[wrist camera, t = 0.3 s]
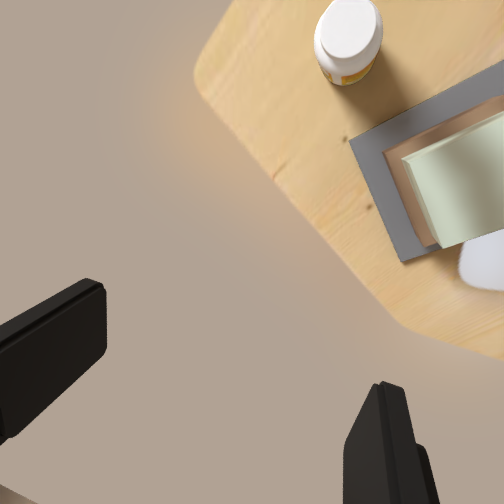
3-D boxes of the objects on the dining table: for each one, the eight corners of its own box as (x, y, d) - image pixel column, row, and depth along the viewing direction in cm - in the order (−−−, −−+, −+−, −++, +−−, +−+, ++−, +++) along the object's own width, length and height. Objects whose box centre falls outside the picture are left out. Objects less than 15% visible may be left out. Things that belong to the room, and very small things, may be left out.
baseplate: (511, 55, 27) (516, 53, 26) (556, 205, 30) (562, 207, 29) (348, 140, 33) (348, 141, 32) (399, 258, 36) (400, 262, 35)
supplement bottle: (385, 30, 29) (402, -12, 20) (362, 92, 31) (368, 77, 23) (331, 17, 30) (324, -29, 21) (312, 78, 32) (300, 59, 24)
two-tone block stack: (492, 97, 28) (542, 85, 21) (523, 195, 30) (579, 216, 23) (381, 151, 32) (391, 157, 25) (415, 235, 34) (434, 262, 27)
